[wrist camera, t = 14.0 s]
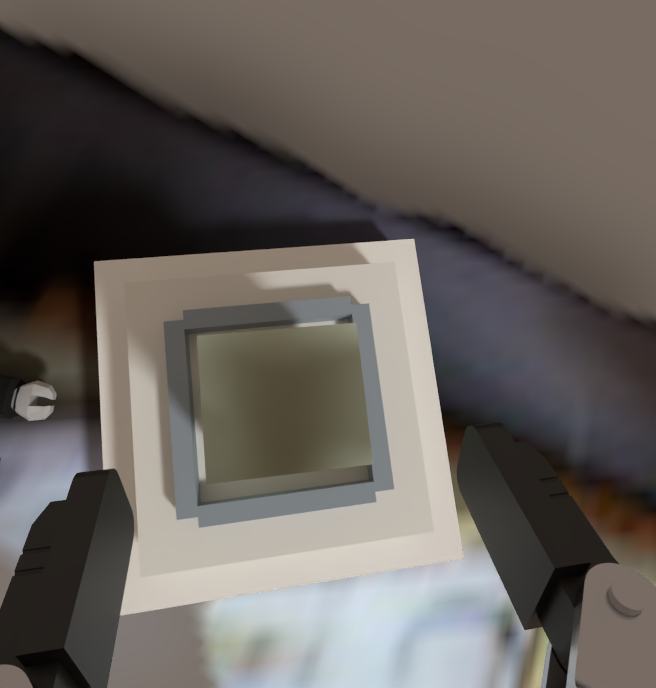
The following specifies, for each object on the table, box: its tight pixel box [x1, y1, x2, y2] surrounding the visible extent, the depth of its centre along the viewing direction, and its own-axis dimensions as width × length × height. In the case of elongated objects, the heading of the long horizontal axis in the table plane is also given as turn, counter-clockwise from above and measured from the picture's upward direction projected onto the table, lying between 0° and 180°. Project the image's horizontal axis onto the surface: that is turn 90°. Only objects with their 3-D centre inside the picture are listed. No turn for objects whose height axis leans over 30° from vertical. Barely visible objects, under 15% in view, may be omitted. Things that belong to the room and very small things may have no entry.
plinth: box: [94, 239, 464, 616], centre depth 23 cm, size 16×16×6 cm
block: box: [197, 323, 373, 484], centre depth 17 cm, size 4×4×8 cm
